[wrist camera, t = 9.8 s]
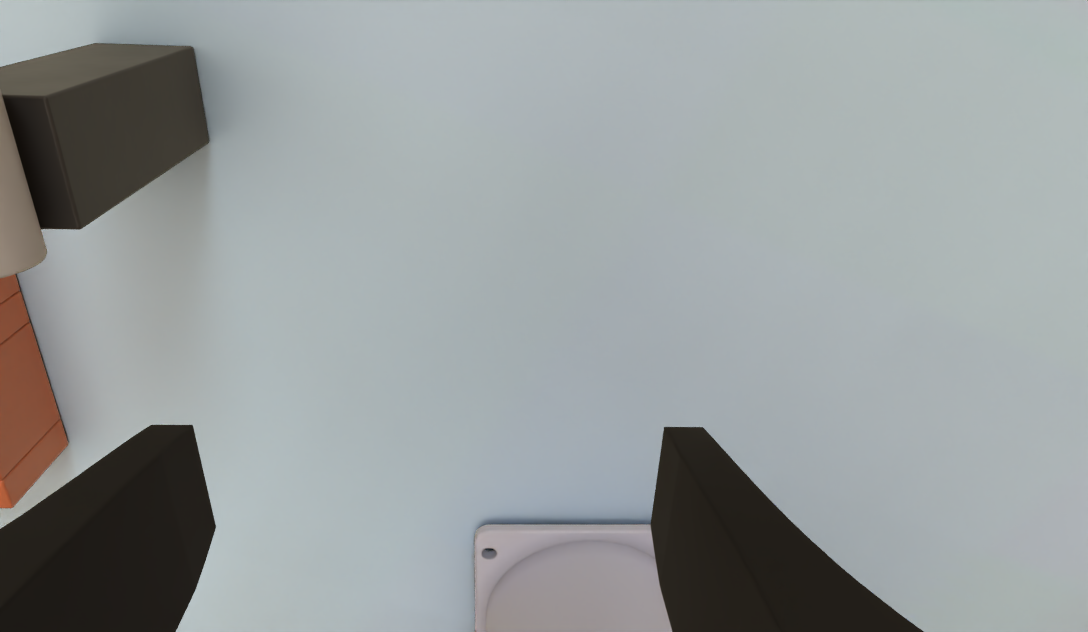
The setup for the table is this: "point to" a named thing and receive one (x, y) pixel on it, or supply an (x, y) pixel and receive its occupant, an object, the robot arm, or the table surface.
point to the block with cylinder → (89, 136)
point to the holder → (23, 402)
